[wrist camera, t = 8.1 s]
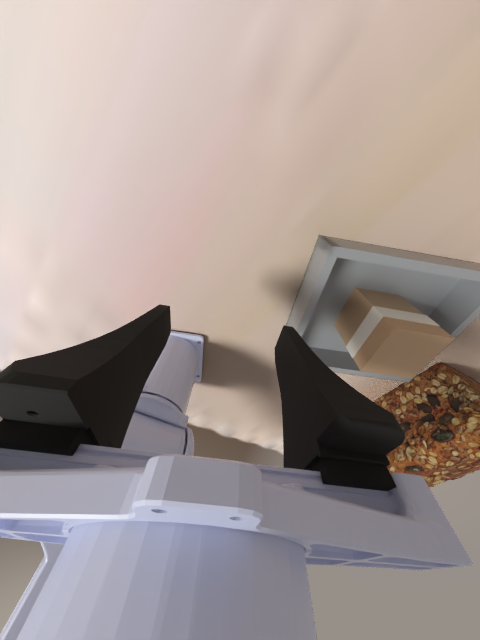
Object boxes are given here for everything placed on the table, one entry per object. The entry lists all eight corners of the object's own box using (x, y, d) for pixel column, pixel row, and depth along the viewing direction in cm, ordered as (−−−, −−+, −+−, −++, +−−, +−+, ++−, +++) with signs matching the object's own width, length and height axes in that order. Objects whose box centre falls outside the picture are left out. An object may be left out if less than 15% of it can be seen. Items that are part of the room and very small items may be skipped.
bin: (392, 361, 27) (408, 382, 24) (278, 345, 26) (282, 365, 24) (478, 263, 19) (518, 278, 16) (319, 235, 18) (331, 245, 15)
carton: (373, 331, 24) (411, 379, 18) (333, 324, 24) (359, 371, 18) (400, 294, 21) (456, 338, 15) (354, 286, 21) (394, 327, 15)
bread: (379, 432, 39) (413, 499, 31) (338, 417, 36) (364, 485, 28) (486, 381, 29) (577, 460, 21) (440, 355, 27) (524, 433, 18)
